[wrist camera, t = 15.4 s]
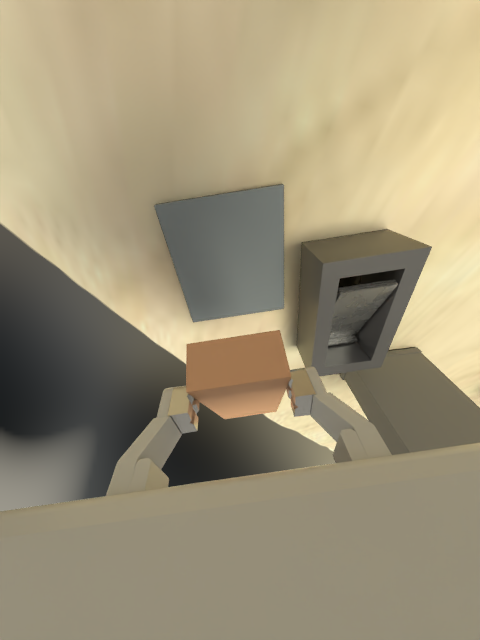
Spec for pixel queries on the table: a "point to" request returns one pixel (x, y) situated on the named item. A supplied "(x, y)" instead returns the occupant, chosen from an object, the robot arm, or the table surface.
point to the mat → (228, 251)
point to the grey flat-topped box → (414, 404)
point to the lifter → (357, 308)
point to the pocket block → (374, 266)
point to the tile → (238, 374)
